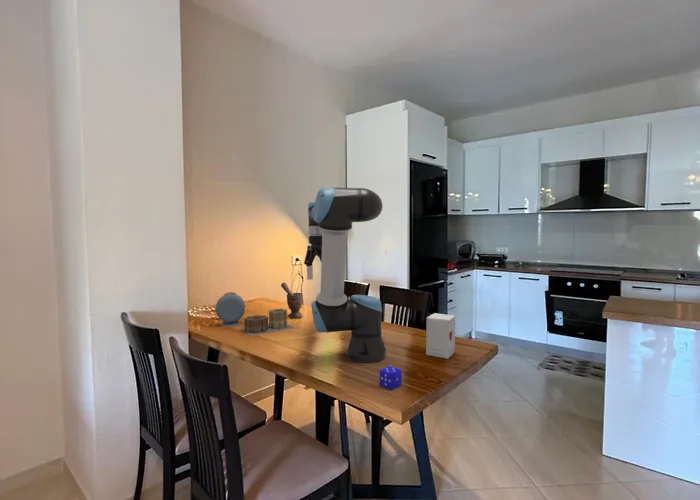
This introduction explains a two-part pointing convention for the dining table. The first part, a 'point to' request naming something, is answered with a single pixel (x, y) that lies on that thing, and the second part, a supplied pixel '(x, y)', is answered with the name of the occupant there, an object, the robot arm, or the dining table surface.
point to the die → (390, 377)
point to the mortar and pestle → (293, 302)
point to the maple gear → (278, 318)
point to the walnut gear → (256, 324)
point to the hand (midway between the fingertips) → (317, 280)
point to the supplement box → (440, 335)
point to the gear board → (269, 330)
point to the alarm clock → (230, 309)
